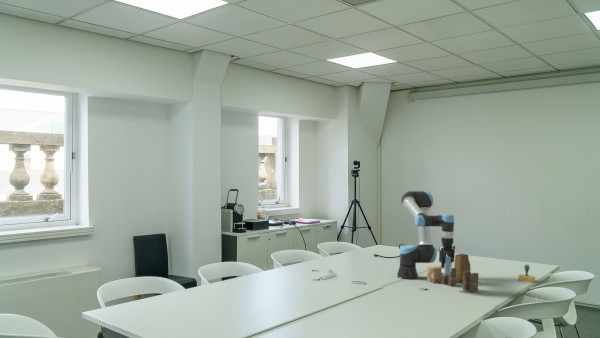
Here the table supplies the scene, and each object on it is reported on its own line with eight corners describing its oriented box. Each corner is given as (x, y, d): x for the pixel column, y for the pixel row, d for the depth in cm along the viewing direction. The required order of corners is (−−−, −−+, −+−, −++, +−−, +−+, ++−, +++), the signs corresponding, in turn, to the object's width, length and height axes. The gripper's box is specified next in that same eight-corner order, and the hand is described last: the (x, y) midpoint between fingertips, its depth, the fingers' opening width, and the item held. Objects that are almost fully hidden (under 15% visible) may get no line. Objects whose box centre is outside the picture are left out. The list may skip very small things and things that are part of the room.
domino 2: (441, 283, 324) (441, 266, 324) (446, 283, 326) (446, 266, 326) (444, 284, 322) (444, 267, 322) (448, 283, 324) (449, 266, 325)
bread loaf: (460, 284, 324) (461, 255, 324) (452, 281, 331) (453, 253, 331) (471, 282, 329) (472, 254, 329) (463, 280, 336) (464, 253, 336)
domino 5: (470, 291, 303) (470, 273, 303) (475, 290, 306) (475, 272, 306) (473, 292, 302) (473, 274, 302) (478, 291, 304) (478, 273, 304)
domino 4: (462, 289, 308) (463, 271, 309) (467, 288, 311) (468, 271, 311) (465, 290, 307) (465, 272, 307) (470, 289, 309) (470, 271, 309)
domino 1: (442, 274, 307) (443, 257, 307) (447, 274, 310) (448, 256, 310) (445, 275, 305) (445, 257, 305) (450, 274, 308) (450, 256, 308)
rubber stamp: (534, 281, 339) (535, 264, 339) (533, 282, 334) (533, 266, 335) (520, 279, 345) (520, 263, 345) (518, 280, 341) (518, 264, 341)
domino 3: (448, 285, 319) (448, 268, 319) (453, 284, 321) (453, 267, 321) (450, 286, 317) (451, 269, 317) (455, 285, 319) (456, 268, 319)
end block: (427, 281, 330) (427, 267, 330) (438, 279, 337) (438, 265, 337) (433, 283, 325) (433, 269, 325) (445, 281, 332) (445, 267, 332)
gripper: (442, 239, 299) (441, 274, 300) (461, 237, 309) (459, 272, 309) (433, 237, 306) (432, 272, 306) (451, 235, 315) (450, 269, 316)
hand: (446, 272), depth 308 cm, fingers closed on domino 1, 5 cm apart
